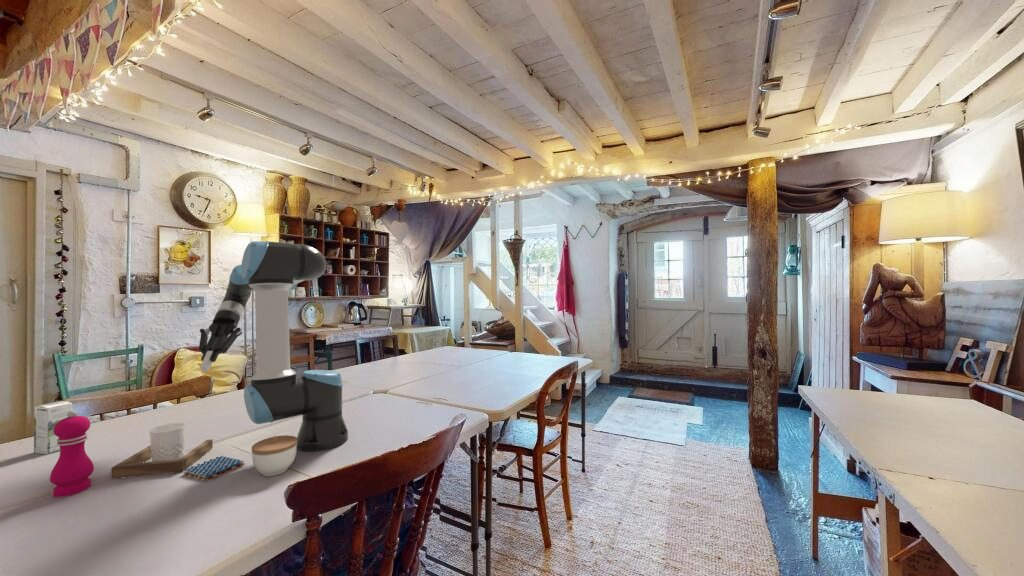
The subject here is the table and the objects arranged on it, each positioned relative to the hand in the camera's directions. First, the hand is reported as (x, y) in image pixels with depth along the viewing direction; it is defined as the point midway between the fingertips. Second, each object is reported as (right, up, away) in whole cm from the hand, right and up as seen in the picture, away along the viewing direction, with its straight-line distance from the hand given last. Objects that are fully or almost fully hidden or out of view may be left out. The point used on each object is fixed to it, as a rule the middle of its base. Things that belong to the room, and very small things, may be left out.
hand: (204, 369), depth 126 cm
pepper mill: (-7, -24, -31) cm, 40 cm away
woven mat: (+20, -24, -21) cm, 38 cm away
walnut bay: (+2, -24, -16) cm, 29 cm away
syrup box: (-41, -24, -7) cm, 48 cm away
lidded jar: (+37, -24, -21) cm, 49 cm away
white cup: (+2, -24, -15) cm, 28 cm away
